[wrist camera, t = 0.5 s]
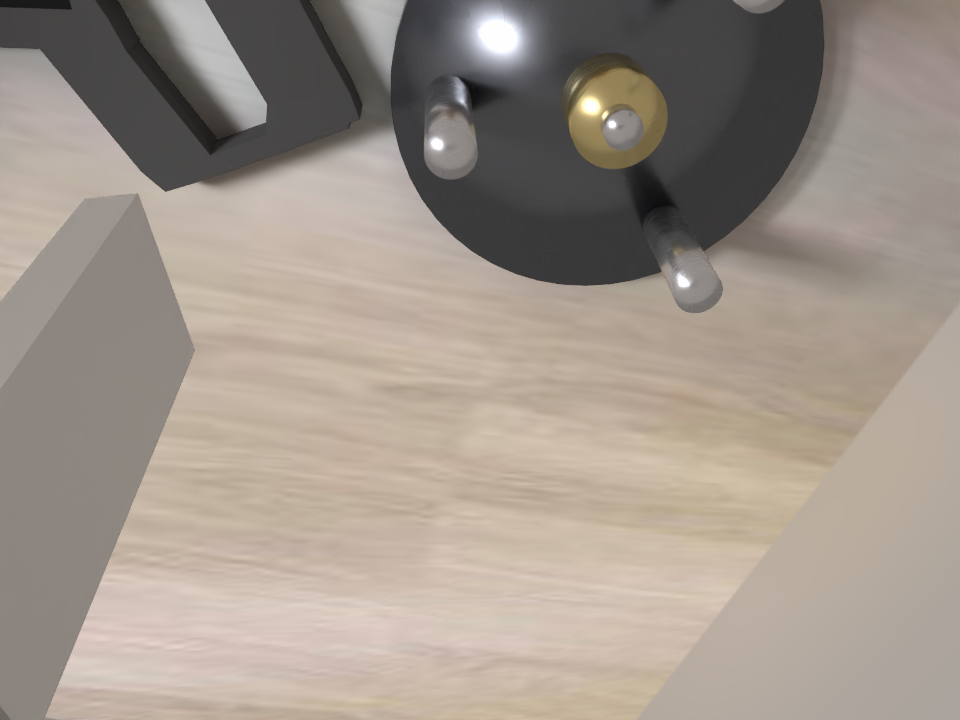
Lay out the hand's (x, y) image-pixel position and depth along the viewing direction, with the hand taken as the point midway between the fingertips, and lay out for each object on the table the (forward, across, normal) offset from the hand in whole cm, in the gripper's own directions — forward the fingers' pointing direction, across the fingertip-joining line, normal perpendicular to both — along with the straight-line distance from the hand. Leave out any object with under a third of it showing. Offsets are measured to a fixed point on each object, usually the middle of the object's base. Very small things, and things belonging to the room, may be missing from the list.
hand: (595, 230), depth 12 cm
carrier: (+26, +5, -6) cm, 27 cm away
